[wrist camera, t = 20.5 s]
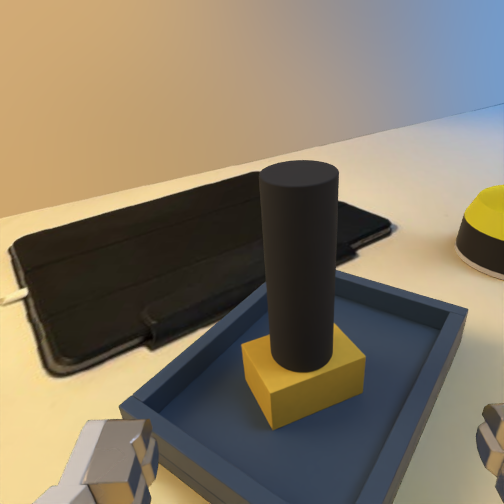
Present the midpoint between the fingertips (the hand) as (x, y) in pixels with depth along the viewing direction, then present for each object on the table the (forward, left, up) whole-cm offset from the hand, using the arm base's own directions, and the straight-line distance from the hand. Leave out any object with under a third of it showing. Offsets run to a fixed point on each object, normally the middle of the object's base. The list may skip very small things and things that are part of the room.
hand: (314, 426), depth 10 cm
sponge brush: (-5, +7, -8) cm, 11 cm away
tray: (-5, +8, -9) cm, 13 cm away
